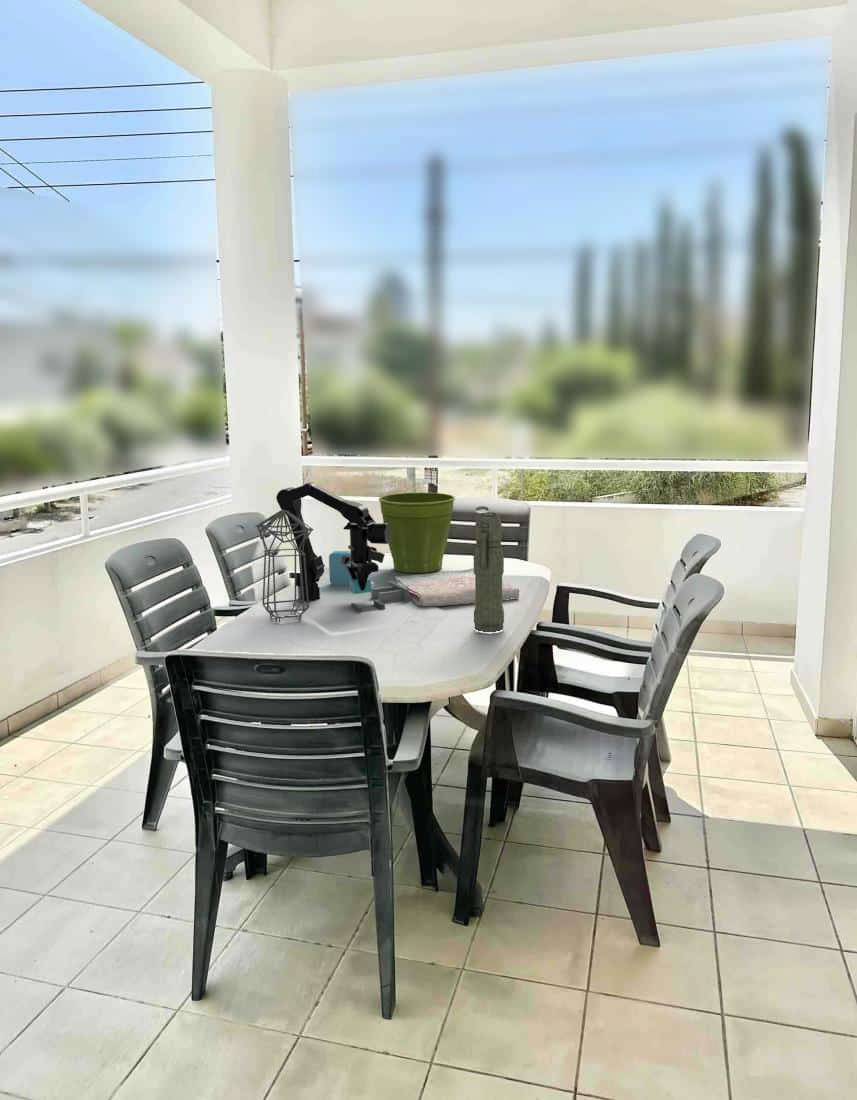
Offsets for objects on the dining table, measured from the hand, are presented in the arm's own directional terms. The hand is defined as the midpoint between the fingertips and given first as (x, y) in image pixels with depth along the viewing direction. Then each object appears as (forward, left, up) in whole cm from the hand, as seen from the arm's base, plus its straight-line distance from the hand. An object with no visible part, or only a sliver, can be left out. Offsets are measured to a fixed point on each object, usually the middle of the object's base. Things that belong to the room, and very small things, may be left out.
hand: (360, 588), depth 290 cm
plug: (0, 0, -1) cm, 1 cm away
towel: (+34, -2, -6) cm, 35 cm away
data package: (+7, +31, -6) cm, 32 cm away
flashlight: (+22, -47, -6) cm, 52 cm away
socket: (+10, 0, -5) cm, 11 cm away
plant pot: (+41, +41, -6) cm, 58 cm away
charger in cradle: (-1, -9, -5) cm, 10 cm away
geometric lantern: (-27, -6, -6) cm, 28 cm away
